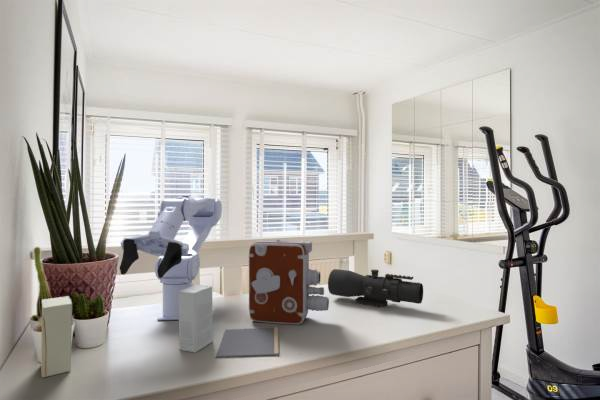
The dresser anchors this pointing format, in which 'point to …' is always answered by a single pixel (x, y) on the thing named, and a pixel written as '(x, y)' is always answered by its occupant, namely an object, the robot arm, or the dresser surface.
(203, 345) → the skincare box
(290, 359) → the dresser surface
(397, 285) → the rifle scope
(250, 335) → the rubber mat
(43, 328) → the skincare box
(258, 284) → the cine camera
